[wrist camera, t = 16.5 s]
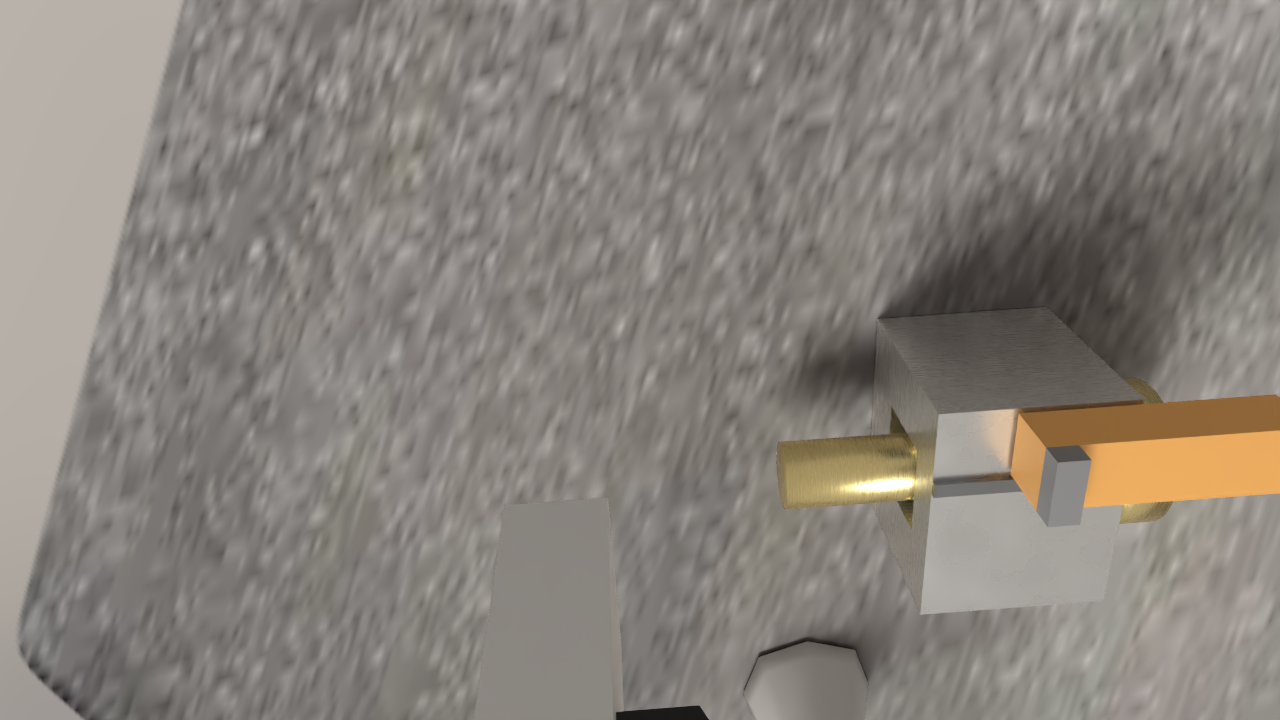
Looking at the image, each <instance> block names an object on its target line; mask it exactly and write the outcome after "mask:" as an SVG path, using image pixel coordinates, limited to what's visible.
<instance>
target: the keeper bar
mask: <svg viewBox="0 0 1280 720" xmlns="http://www.w3.org/2000/svg"><path fill="white" fill-rule="evenodd" d="M1011 476H1012V477H1013V479H1014V480H1015V481H1016V483H1017V484H1018V486H1019V487H1020V489H1021V490H1022V491H1023V493H1024V494H1025V496H1026V497H1027V499H1028V500H1029V501H1030V503H1031V504H1032V506H1033V507H1034V509H1035V510H1036V511H1037V513H1038V514H1039V516H1040V517H1041V519H1042V520H1043V521H1044V523H1045V524H1046V526H1047V527H1058V526H1071V525H1080V523H1081V517H1082V511H1083V508H1086V507H1100V506H1113V505H1127V504H1140V503H1154V502H1167V501H1181V500H1194V499H1207V498H1221V497H1234V496H1248V495H1261V494H1275V493H1280V397H1278V396H1277V395H1264V396H1250V397H1236V398H1222V399H1209V400H1195V401H1181V402H1168V403H1154V404H1140V405H1127V406H1113V407H1099V408H1086V409H1072V410H1058V411H1045V412H1031V413H1019V416H1018V423H1017V430H1016V438H1015V445H1014V453H1013V460H1012V467H1011Z"/></svg>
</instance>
